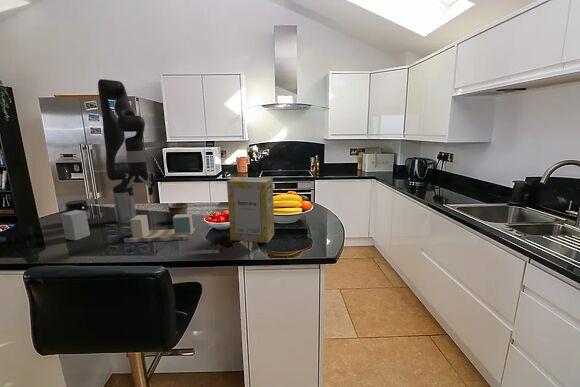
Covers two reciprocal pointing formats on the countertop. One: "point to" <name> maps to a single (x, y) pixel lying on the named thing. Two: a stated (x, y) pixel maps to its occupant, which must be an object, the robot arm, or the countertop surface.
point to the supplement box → (75, 225)
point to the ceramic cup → (178, 209)
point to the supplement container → (78, 207)
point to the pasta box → (251, 209)
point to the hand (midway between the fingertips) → (141, 195)
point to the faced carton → (183, 224)
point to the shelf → (159, 236)
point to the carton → (139, 226)
